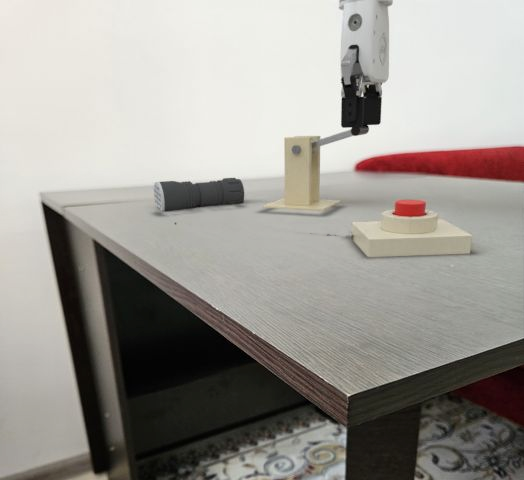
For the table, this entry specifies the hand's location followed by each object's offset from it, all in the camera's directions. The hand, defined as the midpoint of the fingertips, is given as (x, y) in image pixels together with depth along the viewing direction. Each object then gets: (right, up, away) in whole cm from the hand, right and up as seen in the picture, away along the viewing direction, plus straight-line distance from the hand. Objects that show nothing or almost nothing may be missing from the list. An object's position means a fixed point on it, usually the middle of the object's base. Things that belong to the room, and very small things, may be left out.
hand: (361, 126), depth 81 cm
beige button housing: (+3, -22, -15) cm, 27 cm away
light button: (+3, -18, -17) cm, 25 cm away
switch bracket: (-8, -10, +10) cm, 17 cm away
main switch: (-4, -2, +4) cm, 6 cm away
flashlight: (-26, -10, +12) cm, 31 cm away
